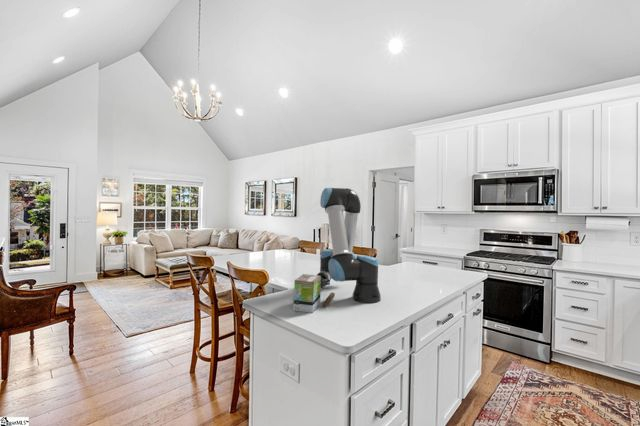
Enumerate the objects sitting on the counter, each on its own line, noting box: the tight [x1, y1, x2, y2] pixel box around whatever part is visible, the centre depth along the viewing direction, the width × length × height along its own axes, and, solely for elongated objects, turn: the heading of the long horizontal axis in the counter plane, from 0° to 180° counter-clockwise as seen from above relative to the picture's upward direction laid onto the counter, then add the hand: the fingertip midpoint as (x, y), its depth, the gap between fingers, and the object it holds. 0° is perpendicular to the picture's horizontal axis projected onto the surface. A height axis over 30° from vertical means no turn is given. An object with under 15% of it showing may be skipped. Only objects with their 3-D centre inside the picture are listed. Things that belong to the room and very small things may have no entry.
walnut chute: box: [322, 292, 336, 309], centre depth 162 cm, size 17×20×2 cm
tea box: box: [292, 273, 322, 313], centre depth 150 cm, size 15×10×15 cm, turn 167°
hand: (311, 288), depth 158 cm, fingers closed
